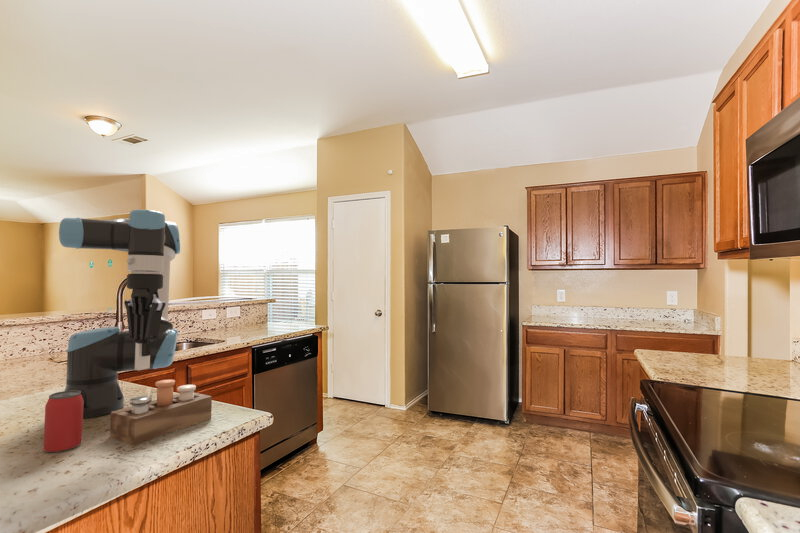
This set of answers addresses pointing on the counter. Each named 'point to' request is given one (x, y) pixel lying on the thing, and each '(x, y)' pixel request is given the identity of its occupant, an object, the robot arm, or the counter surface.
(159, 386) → the peach round knob
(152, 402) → the button block
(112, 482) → the counter surface
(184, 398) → the plunger white
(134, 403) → the plunger grey
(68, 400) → the beer can
